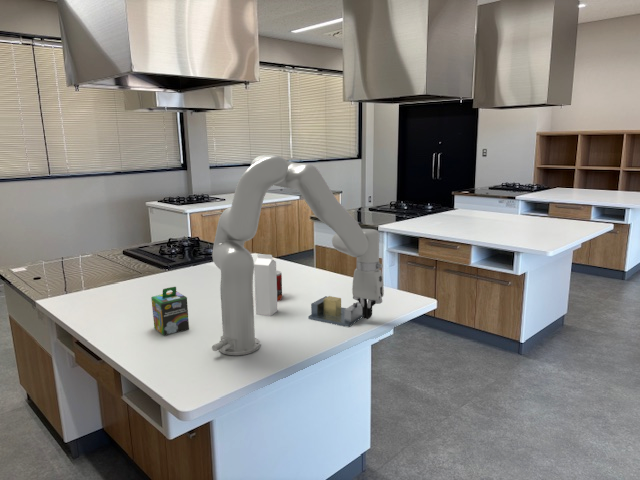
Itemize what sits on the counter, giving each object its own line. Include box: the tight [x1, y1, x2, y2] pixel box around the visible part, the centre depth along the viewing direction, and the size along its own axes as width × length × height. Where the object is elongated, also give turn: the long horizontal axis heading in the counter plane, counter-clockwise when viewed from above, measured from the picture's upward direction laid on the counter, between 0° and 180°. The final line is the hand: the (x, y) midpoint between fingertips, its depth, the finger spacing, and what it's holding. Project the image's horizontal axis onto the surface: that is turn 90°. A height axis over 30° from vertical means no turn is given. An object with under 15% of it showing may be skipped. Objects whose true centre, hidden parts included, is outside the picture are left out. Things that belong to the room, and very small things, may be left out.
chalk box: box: [150, 286, 190, 337], centre depth 156 cm, size 9×9×15 cm
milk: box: [253, 253, 278, 317], centre depth 170 cm, size 6×6×22 cm
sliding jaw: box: [345, 301, 362, 322], centre depth 163 cm, size 10×2×5 cm, turn 149°
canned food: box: [276, 269, 283, 302], centre depth 187 cm, size 8×8×11 cm
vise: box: [308, 296, 363, 327], centre depth 167 cm, size 14×16×5 cm
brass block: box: [324, 295, 342, 316], centre depth 167 cm, size 4×5×6 cm
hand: (367, 317), depth 161 cm, fingers closed
